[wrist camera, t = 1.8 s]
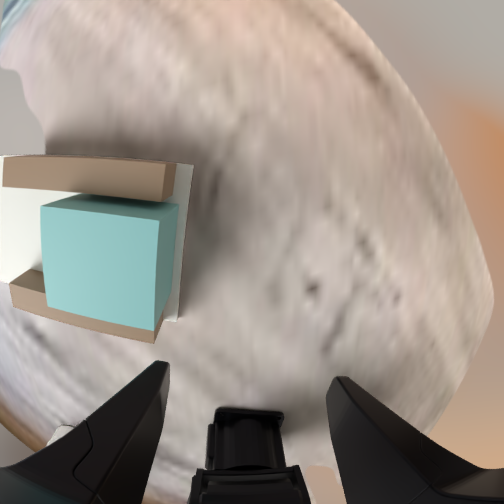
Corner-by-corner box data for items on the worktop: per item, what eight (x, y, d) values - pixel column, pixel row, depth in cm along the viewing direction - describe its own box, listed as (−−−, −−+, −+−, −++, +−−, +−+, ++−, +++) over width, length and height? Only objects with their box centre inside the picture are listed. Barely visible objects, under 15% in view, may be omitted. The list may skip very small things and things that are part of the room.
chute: (193, 165, 18) (184, 166, 14) (177, 318, 21) (168, 346, 17) (-29, 156, 15) (-55, 160, 12) (-24, 269, 19) (-45, 283, 15)
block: (179, 204, 18) (159, 220, 13) (171, 291, 19) (154, 330, 15) (82, 192, 17) (40, 206, 12) (81, 275, 19) (47, 306, 14)
